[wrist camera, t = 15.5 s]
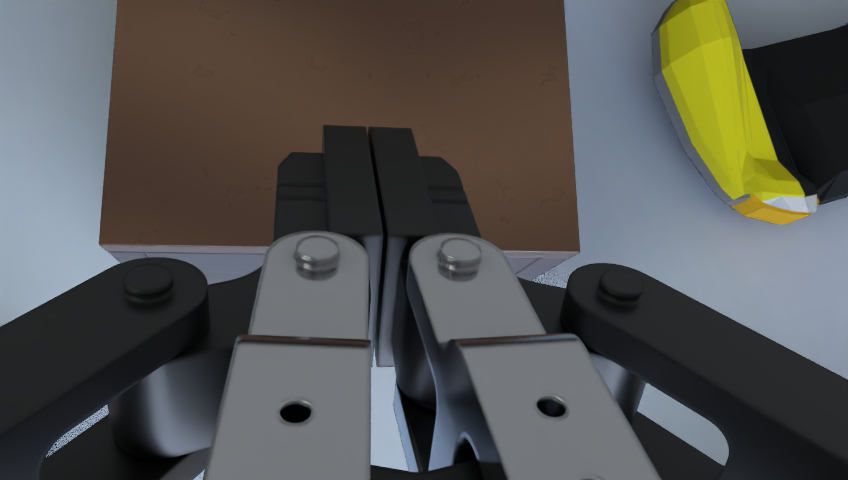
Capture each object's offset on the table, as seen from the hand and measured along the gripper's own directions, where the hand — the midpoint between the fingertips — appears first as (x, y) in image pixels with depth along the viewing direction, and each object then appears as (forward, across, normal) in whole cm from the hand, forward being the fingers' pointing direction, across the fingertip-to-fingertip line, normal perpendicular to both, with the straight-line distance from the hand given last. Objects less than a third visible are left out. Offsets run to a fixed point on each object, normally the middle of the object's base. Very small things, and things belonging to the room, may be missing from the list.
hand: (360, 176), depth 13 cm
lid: (+12, 0, 0) cm, 12 cm away
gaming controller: (+19, -21, +6) cm, 29 cm away
